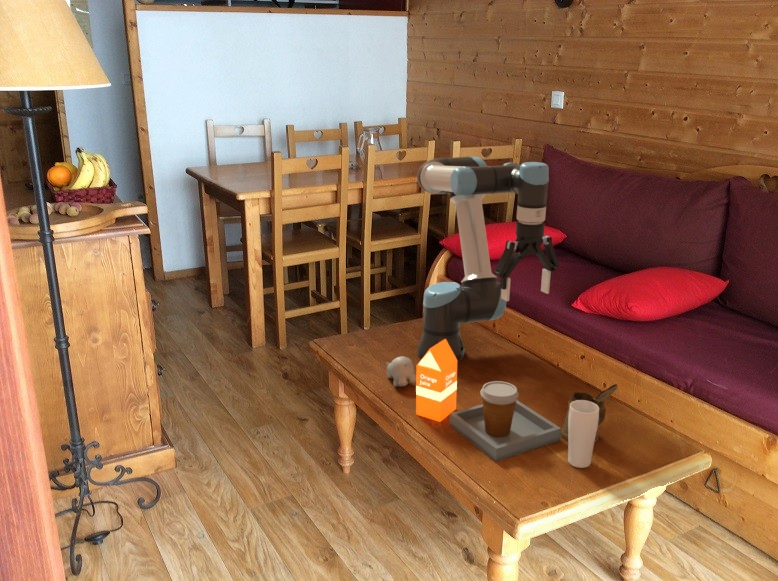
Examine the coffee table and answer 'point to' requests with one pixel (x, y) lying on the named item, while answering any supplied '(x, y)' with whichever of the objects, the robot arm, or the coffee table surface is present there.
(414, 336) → the coffee table surface
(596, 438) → the wooden mug
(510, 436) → the tray
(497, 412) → the disposable coffee cup
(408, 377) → the round bodied animal figurine
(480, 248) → the robot arm
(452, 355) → the orange juice
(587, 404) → the drinking glass
